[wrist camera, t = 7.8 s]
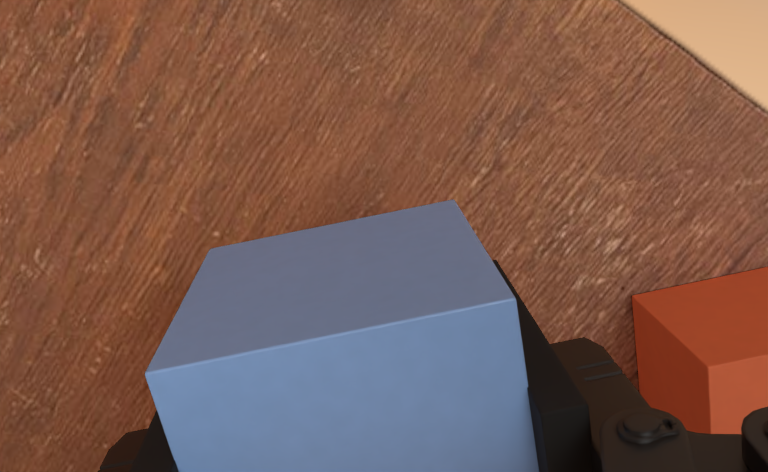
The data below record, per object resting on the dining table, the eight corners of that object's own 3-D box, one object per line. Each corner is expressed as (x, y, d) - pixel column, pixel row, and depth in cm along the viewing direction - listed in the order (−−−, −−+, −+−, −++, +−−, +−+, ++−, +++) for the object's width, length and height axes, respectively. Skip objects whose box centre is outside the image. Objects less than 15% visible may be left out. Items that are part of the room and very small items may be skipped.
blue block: (454, 198, 17) (516, 297, 11) (489, 410, 18) (557, 589, 13) (209, 248, 17) (143, 373, 11) (269, 455, 18) (239, 654, 13)
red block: (773, 264, 28) (886, 329, 23) (775, 390, 30) (879, 478, 25) (630, 295, 28) (707, 367, 22) (641, 419, 30) (714, 514, 24)
